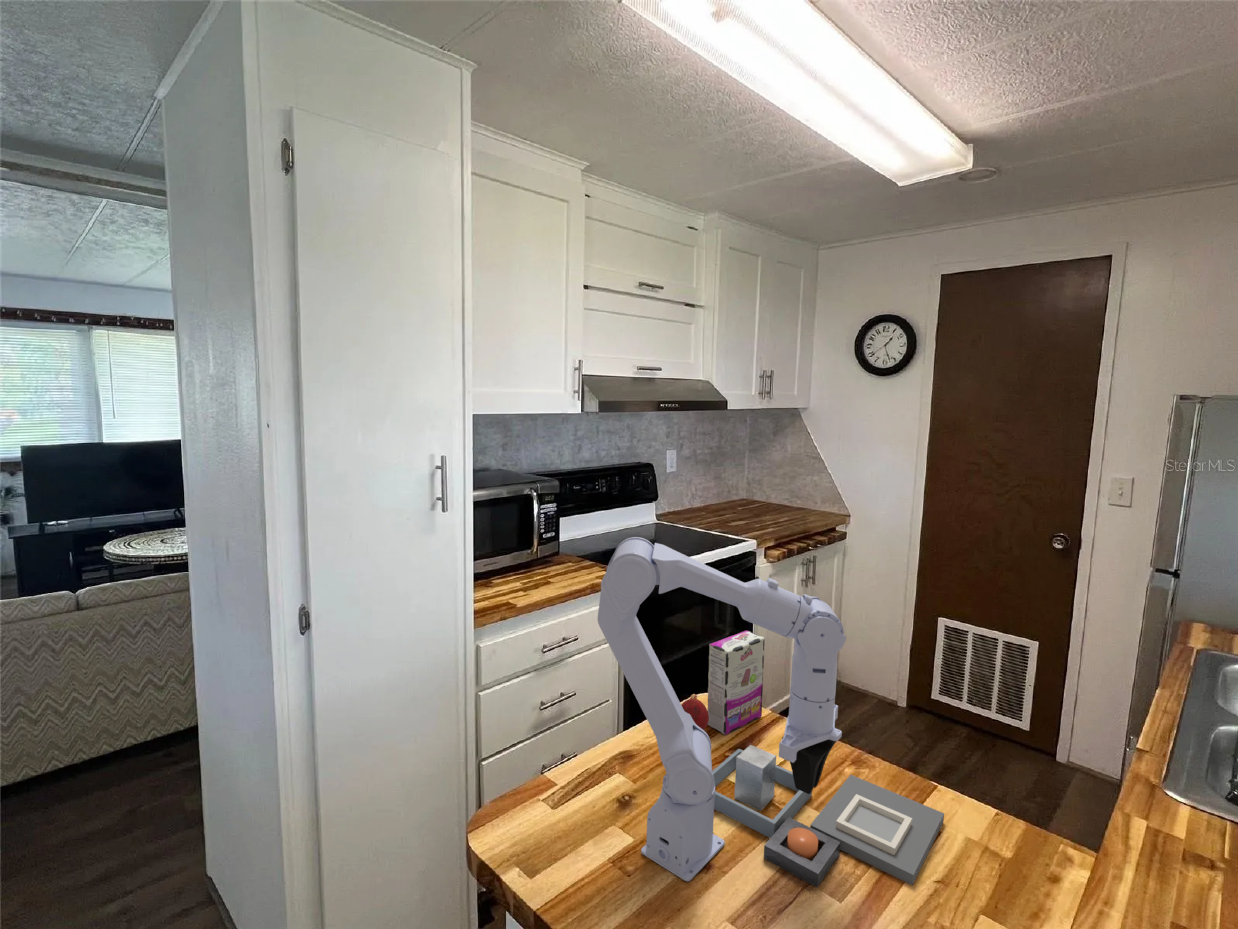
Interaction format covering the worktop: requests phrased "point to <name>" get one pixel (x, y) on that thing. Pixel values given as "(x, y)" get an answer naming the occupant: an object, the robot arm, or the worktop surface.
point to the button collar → (797, 864)
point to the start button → (803, 843)
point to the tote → (751, 816)
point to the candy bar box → (735, 681)
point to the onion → (696, 711)
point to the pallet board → (880, 827)
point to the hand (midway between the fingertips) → (806, 787)
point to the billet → (755, 777)
